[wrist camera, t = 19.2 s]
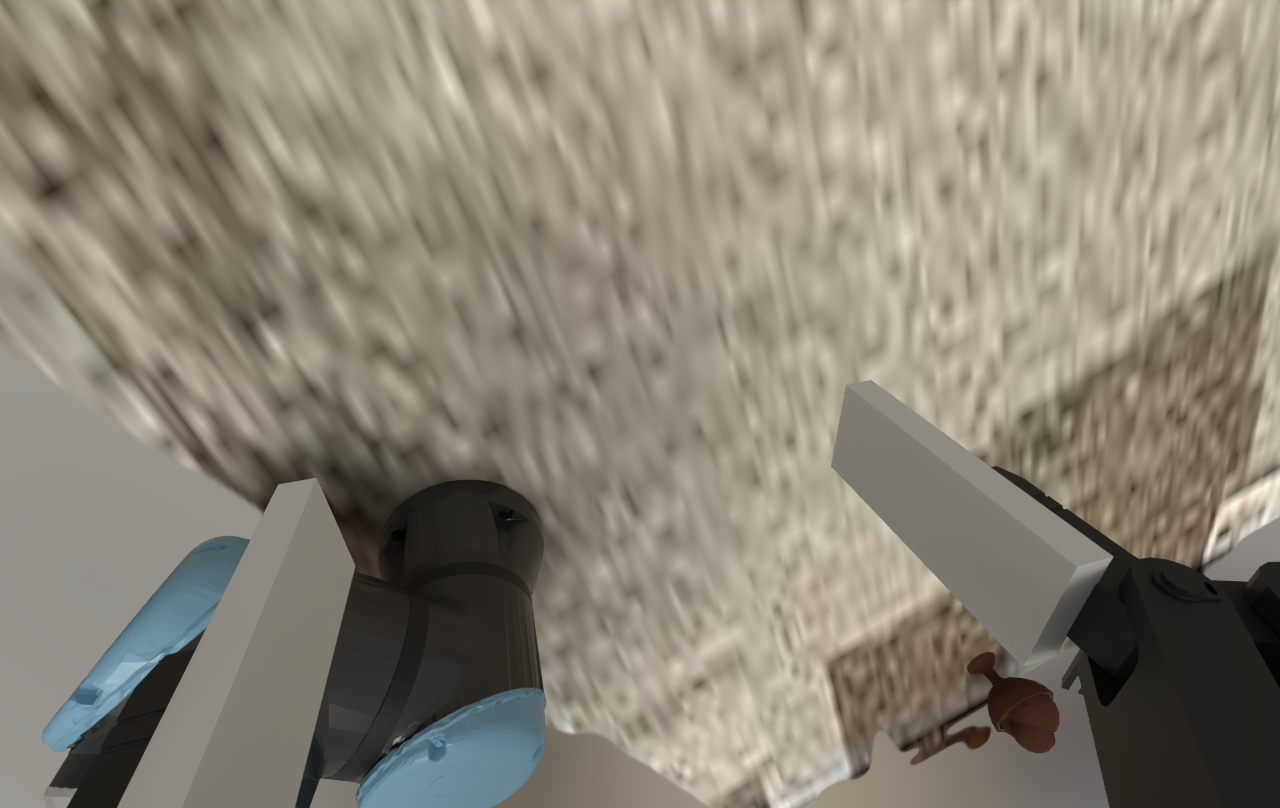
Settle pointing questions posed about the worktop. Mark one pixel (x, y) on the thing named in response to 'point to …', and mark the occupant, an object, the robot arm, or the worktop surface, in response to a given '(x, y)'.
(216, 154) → the worktop surface
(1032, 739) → the ice cream bowl
